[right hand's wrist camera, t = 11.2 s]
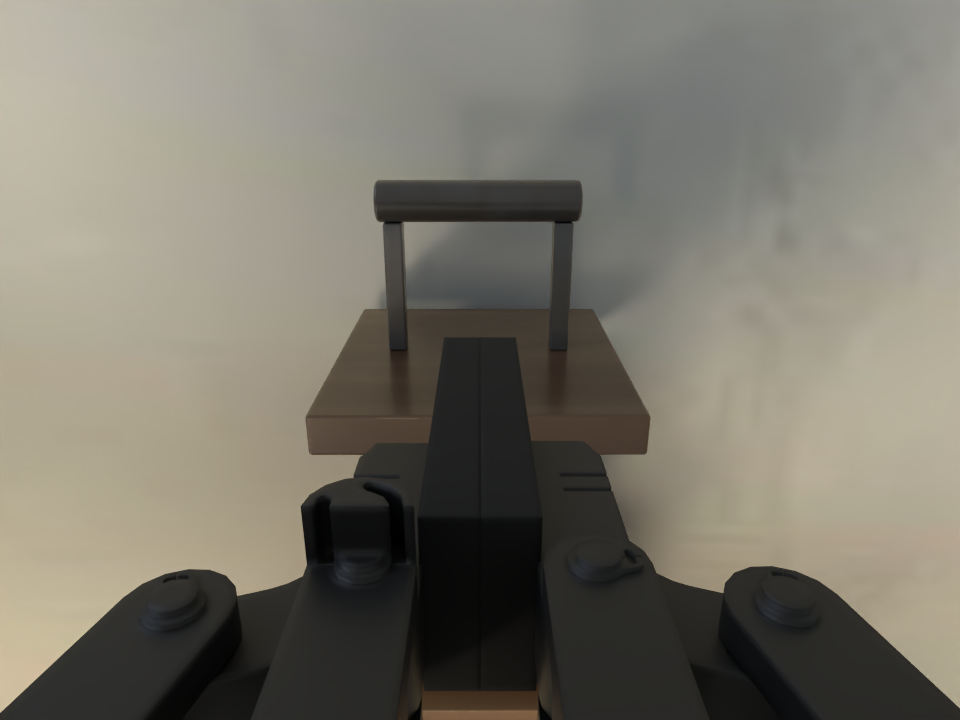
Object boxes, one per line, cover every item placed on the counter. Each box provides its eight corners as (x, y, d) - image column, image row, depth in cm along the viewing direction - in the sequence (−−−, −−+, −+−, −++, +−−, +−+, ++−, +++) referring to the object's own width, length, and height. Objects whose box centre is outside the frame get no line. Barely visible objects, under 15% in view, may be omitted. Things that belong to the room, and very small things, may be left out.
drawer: (354, 166, 26) (282, 205, 16) (602, 166, 26) (672, 205, 16) (383, 615, 33) (345, 818, 24) (574, 615, 33) (611, 818, 24)
